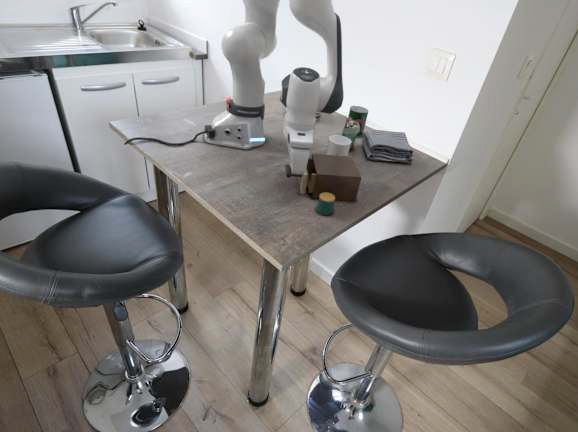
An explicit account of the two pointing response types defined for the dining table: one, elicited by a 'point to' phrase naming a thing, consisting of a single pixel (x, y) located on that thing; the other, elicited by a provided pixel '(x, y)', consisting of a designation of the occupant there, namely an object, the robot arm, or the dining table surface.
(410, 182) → the dining table surface
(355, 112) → the canned tomato
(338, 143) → the white cup
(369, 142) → the towel
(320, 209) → the tea tin
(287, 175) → the drawer
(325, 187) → the cabinet
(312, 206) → the dining table surface
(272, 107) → the dining table surface
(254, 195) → the dining table surface
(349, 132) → the food container
